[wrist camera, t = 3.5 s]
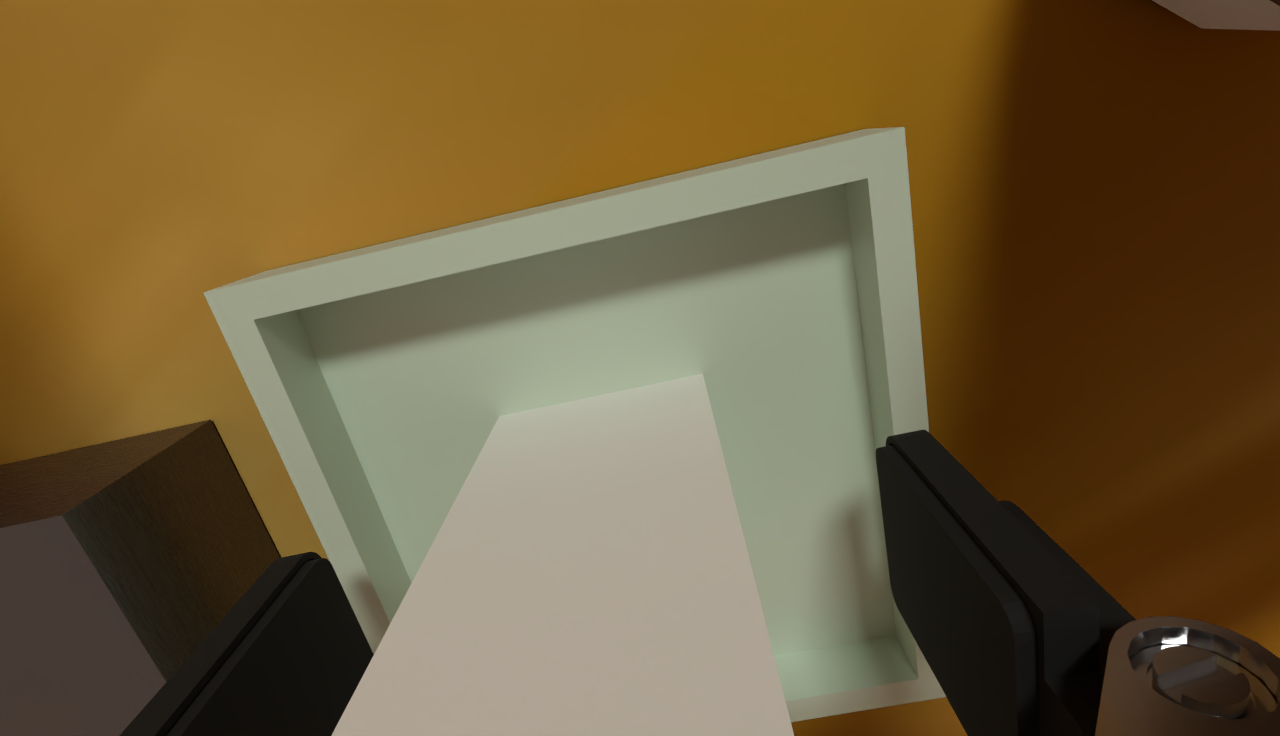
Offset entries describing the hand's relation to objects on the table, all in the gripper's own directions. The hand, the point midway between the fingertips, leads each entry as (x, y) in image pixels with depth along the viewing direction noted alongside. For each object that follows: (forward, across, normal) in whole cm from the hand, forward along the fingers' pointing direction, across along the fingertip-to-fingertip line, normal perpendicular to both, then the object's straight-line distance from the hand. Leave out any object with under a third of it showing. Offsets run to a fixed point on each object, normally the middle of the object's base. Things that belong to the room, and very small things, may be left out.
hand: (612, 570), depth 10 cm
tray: (+3, 0, 0) cm, 3 cm away
